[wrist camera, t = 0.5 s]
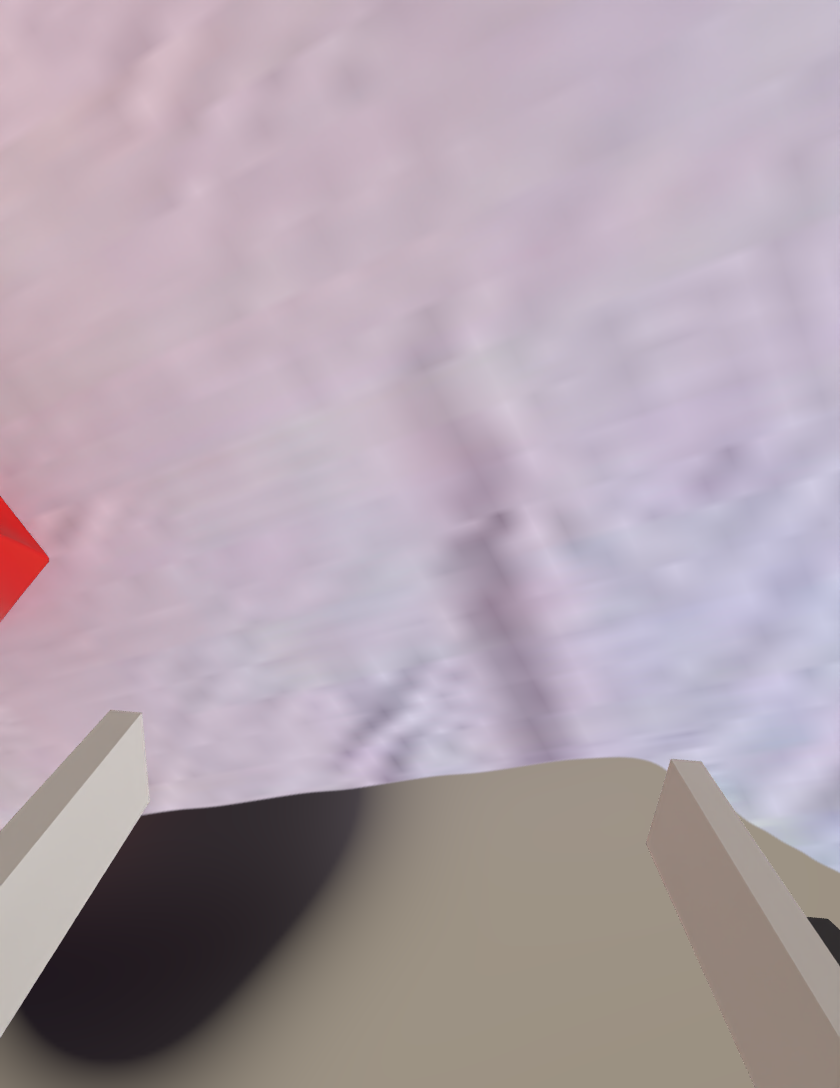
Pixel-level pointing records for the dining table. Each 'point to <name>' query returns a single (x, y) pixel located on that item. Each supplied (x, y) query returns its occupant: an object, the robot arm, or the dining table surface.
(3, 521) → the vase
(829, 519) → the dining table surface
